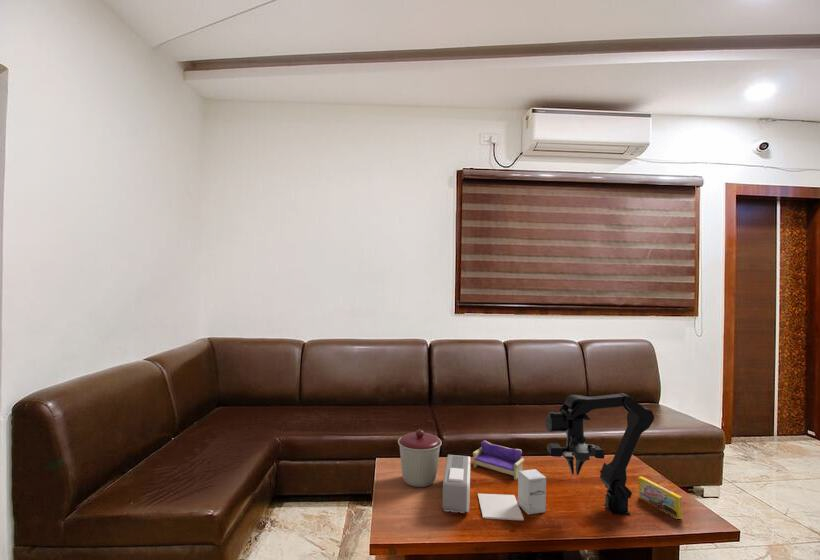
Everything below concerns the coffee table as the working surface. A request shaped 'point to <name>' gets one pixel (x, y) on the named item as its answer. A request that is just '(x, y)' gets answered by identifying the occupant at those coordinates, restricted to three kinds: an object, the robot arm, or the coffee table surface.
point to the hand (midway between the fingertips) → (574, 474)
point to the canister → (419, 457)
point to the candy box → (660, 497)
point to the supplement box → (532, 491)
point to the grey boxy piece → (456, 484)
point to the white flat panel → (499, 507)
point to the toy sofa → (499, 458)
